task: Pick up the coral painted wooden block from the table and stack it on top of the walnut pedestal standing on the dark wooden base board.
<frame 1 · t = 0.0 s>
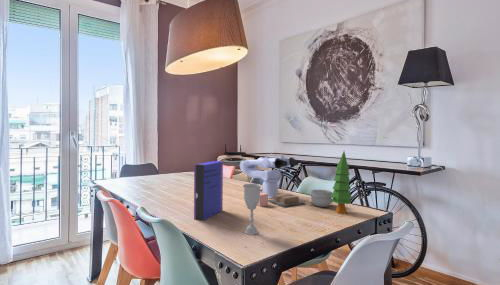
hand: (292, 163, 160), 22 cm above the table, tool horizontal, fingers open, 7 cm apart
chalice: (251, 232, 115), on the table
decorative tree: (340, 212, 144), on the table
coral block: (261, 205, 157), on the table
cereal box: (209, 214, 138), on the table
base: (286, 203, 162), on the table
teacup: (324, 206, 157), on the table
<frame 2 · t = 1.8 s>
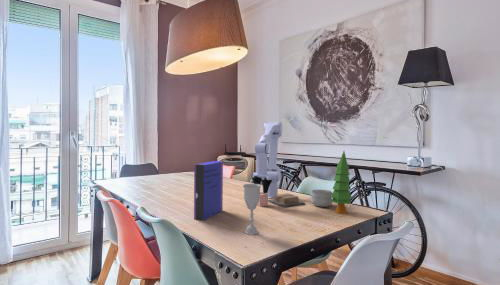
hand: (261, 191, 157), 7 cm above the table, tool pointing down, fingers open, 7 cm apart
nothing on the table moved.
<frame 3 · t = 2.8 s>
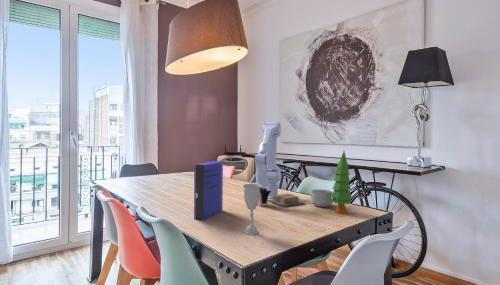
hand: (261, 202, 157), 1 cm above the table, tool pointing down, fingers closed on coral block, 5 cm apart
coral block: (261, 204, 157), on the table, touching gripper
everything else where it was.
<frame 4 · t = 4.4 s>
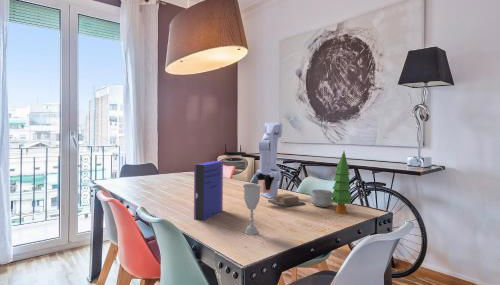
hand: (265, 188, 157), 8 cm above the table, tool pointing down, fingers closed on coral block, 5 cm apart
coral block: (264, 191, 157), point 7 cm above the table, touching gripper
everything else where it was.
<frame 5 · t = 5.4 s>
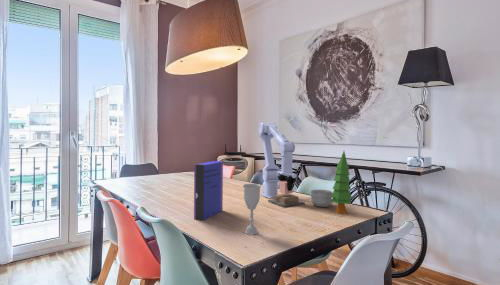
hand: (286, 189, 161), 7 cm above the table, tool pointing down, fingers closed on coral block, 5 cm apart
coral block: (285, 192, 161), point 6 cm above the table, touching gripper
everything else where it was.
when the fingers open (7 cm above the table, at t = 6.0 s): coral block drops 1 cm, resting on base.
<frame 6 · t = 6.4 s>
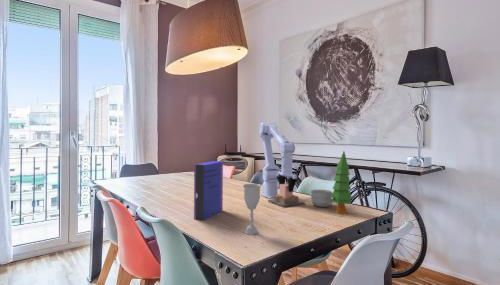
hand: (286, 190, 161), 7 cm above the table, tool pointing down, fingers open, 7 cm apart
coral block: (285, 195, 161), point 4 cm above the table, touching base
everything else where it was.
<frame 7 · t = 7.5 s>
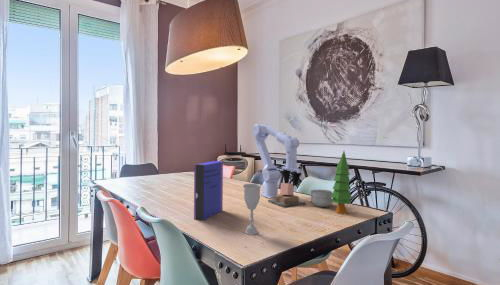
hand: (290, 184, 166), 9 cm above the table, tool pointing down, fingers open, 7 cm apart
coral block: (286, 194, 162), point 5 cm above the table, tilted 9°, touching gripper
everything else where it was.
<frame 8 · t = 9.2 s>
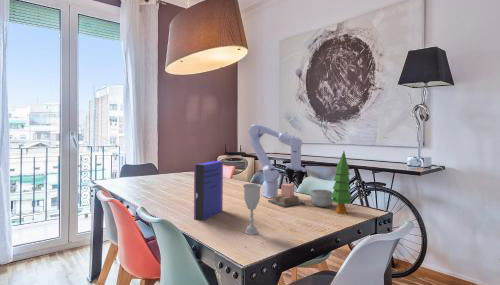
hand: (295, 182, 171), 9 cm above the table, tool pointing down, fingers open, 7 cm apart
coral block: (287, 195, 162), point 4 cm above the table, touching base
everything else where it was.
at the end: coral block 0.9 cm off-centre on the base, point 4.0 cm above the base's base; coral block tilted 0°; the gripper is holding nothing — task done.
